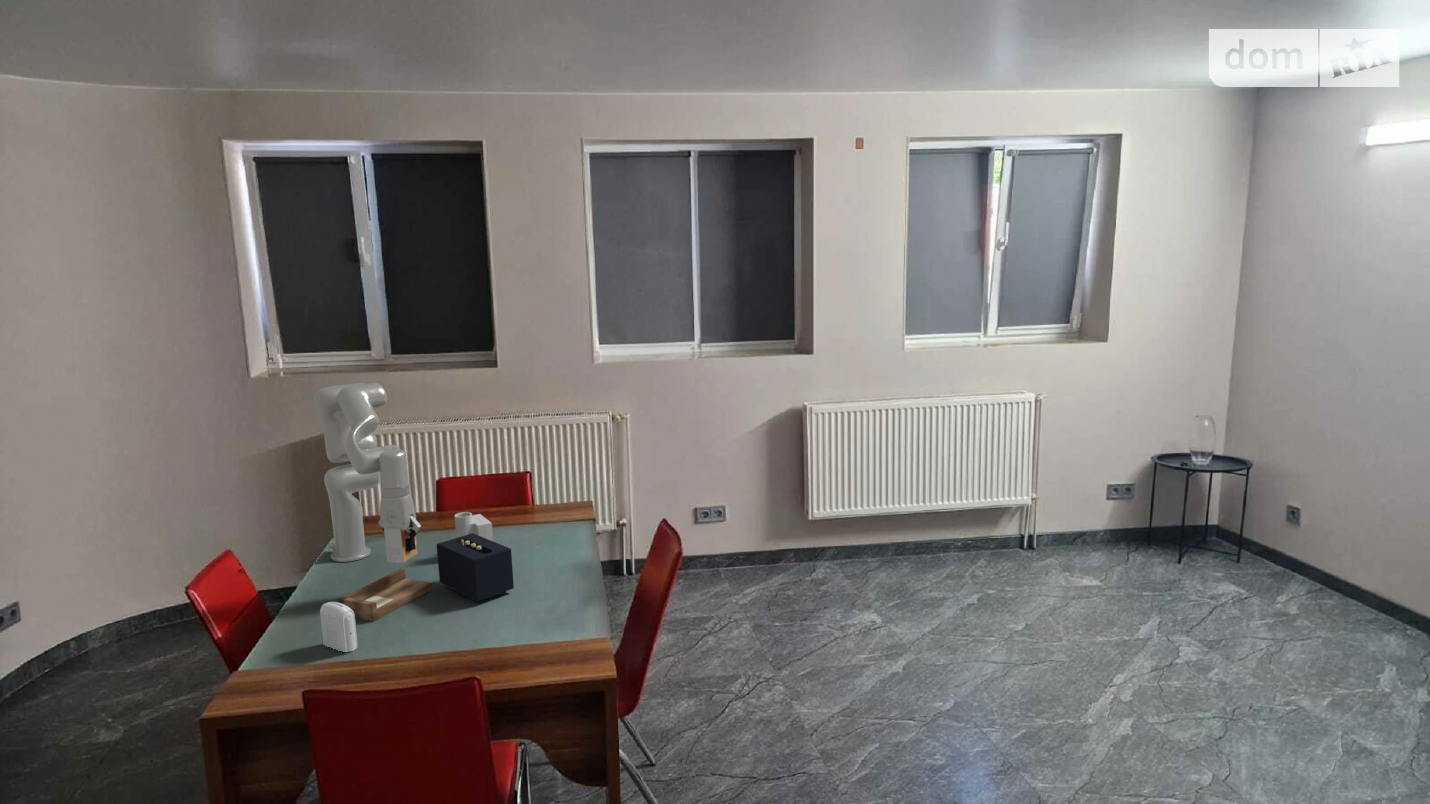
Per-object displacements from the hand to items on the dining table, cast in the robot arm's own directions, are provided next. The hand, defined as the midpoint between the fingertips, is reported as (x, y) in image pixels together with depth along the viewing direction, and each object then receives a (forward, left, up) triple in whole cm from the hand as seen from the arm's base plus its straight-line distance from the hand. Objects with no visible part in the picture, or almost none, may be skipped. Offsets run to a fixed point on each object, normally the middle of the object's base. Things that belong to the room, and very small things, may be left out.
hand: (401, 548), depth 250 cm
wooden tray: (0, -7, -14) cm, 16 cm away
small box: (0, 0, -3) cm, 3 cm away
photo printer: (+9, -34, -15) cm, 38 cm away
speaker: (+19, +9, -15) cm, 26 cm away
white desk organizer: (-2, +31, -15) cm, 34 cm away
